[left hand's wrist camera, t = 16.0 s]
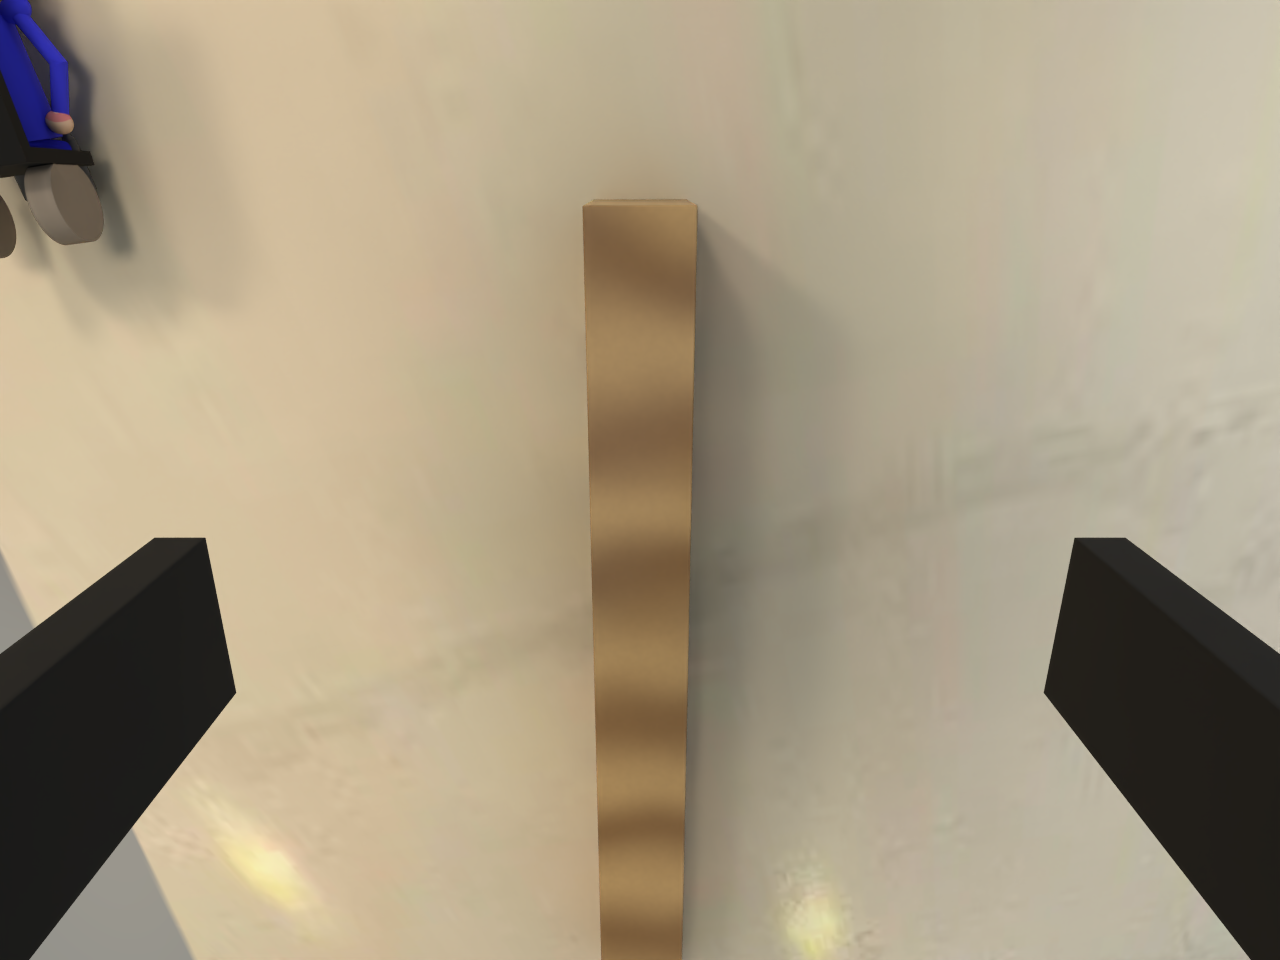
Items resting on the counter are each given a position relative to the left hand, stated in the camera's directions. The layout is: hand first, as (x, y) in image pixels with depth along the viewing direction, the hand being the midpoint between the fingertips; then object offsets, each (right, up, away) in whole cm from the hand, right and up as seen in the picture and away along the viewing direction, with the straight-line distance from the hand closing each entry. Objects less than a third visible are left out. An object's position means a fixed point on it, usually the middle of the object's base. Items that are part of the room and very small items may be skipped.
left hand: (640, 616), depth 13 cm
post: (0, -8, +37) cm, 38 cm away
